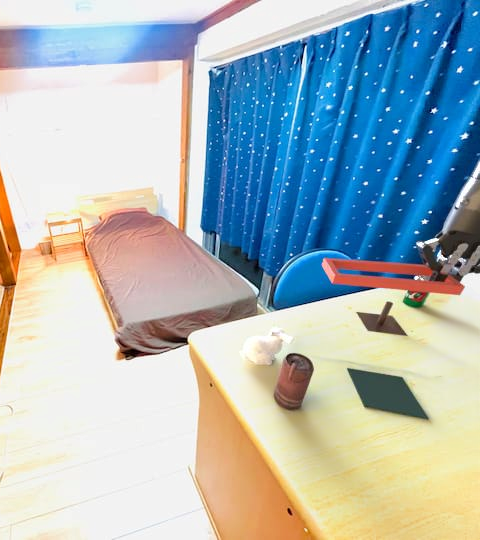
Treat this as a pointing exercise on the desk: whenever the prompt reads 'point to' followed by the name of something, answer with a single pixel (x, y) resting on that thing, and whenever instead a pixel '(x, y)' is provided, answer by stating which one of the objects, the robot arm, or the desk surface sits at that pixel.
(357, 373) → the mat
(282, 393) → the can
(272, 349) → the rabbit
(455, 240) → the robot arm
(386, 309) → the stand
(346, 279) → the loop
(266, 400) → the desk surface
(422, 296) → the soda can
